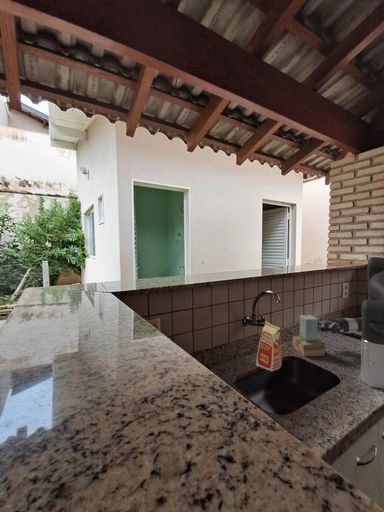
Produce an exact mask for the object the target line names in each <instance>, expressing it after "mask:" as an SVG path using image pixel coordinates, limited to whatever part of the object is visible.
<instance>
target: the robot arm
mask: <svg viewBox="0 0 384 512" xmlns="http://www.w3.org/2000/svg"><path fill="white" fill-rule="evenodd" d="M366 271H367V277H366V278H367V299H364V300H363V301H362V302H361V317H352V318H350V317H339V318H338V317H337V318H333V320H332V321H331V320H327V319H318V327H320V332H321V333H325V332H328V333H332V334H351V333H361V340H360V341H361V345H360V346H361V348H360V381H362V382H363V383H364V384H365V385H368V387H370V388H376V389H381V390H384V257H380V256H370V257H369V258H368V260H367V270H366Z"/></svg>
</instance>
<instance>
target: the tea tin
mask: <svg viewBox="0 0 384 512" xmlns="http://www.w3.org/2000/svg"><path fill="white" fill-rule="evenodd" d="M318 320H319V318H318V317H315V316H313V315H312V314H307V315H306V314H305V315H304V314H303V315H301V314H300V315H299V336H300V338H301V339H302V340H303V341H305V342H317V339H318V328H319V326H318Z"/></svg>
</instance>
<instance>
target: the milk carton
mask: <svg viewBox="0 0 384 512" xmlns="http://www.w3.org/2000/svg"><path fill="white" fill-rule="evenodd" d="M280 329H281V327H279V326H276V325H273V324H272V323H269V322H268V321H265V325H264V326H263V327H262V331H261V334H260V339H259V344H258V349H257V353H256V361H255V366H257V367H259V368H262V369H265V370H266V371H270V372H275V371H277V370H279V369H281V366H282V362H283V361H282V344H281V332H280Z"/></svg>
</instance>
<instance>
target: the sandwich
mask: <svg viewBox="0 0 384 512" xmlns="http://www.w3.org/2000/svg"><path fill="white" fill-rule="evenodd" d="M292 348H293V349H294V350H295V351H297V353H299V354H300V355H301V356H303V357H320V356H323V357H325V356H326V354H325V353H326V351H325V350H326V344H325V342H323V341H321V340H320V339H318V338H317V342H305V341H303V340H302V339H301V338H300V335H294V336H292Z"/></svg>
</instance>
